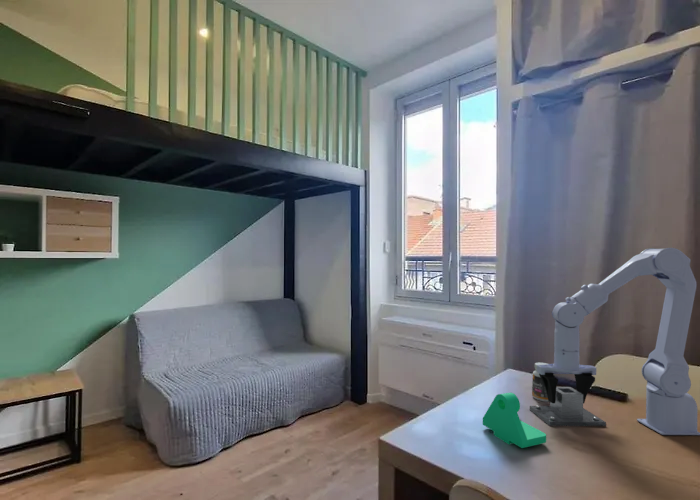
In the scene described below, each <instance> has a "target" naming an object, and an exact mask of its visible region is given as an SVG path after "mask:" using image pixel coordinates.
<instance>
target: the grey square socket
mask: <svg viewBox="0 0 700 500" xmlns="http://www.w3.org/2000/svg"><path fill="white" fill-rule="evenodd" d="M549 406H550V410H552V411H553V412H554V413H556V414H557V415H558V416H560V417H561V418H583V408H584V403H583V394H582V393H580V392H578V391H577V390H576V388H573V387H571V386H557V387H556V401H555V403H551V402H549Z"/></svg>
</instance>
